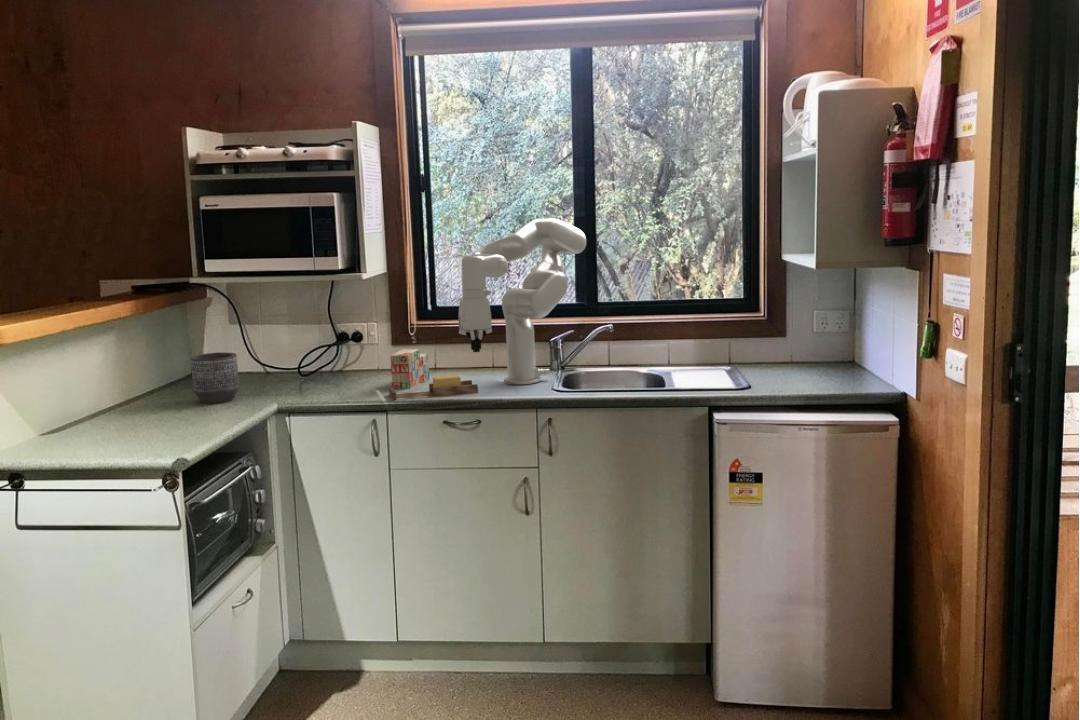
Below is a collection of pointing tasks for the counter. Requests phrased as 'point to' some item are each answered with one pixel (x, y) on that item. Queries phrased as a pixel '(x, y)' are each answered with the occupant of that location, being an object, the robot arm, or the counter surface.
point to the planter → (215, 377)
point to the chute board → (437, 391)
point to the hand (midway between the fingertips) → (476, 351)
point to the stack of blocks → (409, 368)
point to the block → (446, 381)
